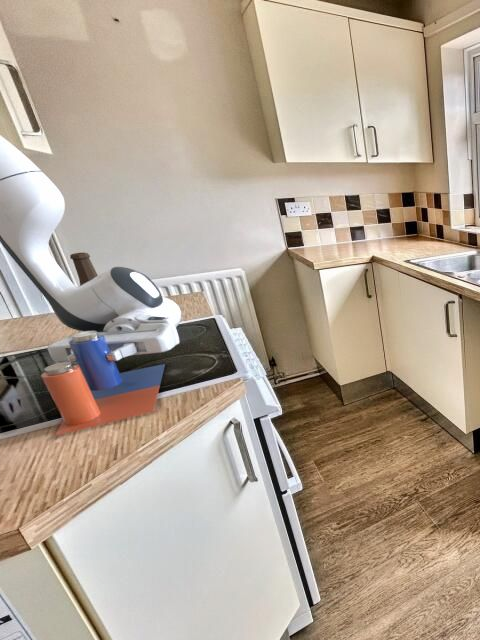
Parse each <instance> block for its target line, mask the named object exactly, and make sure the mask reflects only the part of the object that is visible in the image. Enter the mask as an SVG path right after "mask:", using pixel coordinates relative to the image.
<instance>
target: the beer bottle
mask: <svg viewBox="0 0 480 640" xmlns="http://www.w3.org/2000/svg"><path fill="white" fill-rule="evenodd" d="M90 257H91V255H90V254H89V252H75V253H71V254H70V255H69V258H70V260H72V261H73V266H74V268H75V271H76V274H77V277H78V280H79V286H81V285H83V284H85V283H86V282H88V281H90V280H92V279H94V278H95V277H97V276H99V274H98V272H97V271H96V269H95V267H94V265H93V263H92V261H91V259H90ZM103 330H104V329H103ZM103 330H102V331H99V332H103Z"/></svg>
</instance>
